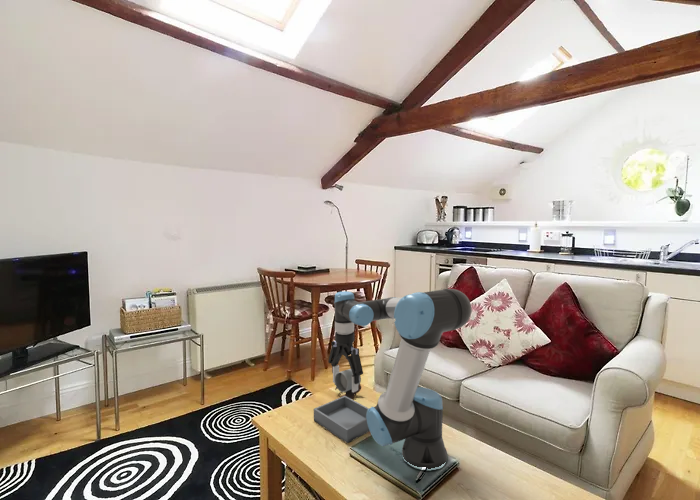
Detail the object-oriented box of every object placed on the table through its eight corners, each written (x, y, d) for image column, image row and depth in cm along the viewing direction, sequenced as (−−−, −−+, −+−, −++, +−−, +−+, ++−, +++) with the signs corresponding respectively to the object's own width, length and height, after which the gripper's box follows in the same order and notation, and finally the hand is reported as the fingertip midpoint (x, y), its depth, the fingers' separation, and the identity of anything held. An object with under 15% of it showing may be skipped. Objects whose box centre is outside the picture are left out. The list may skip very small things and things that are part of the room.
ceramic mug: (362, 388, 150) (362, 369, 149) (347, 395, 144) (347, 375, 143) (343, 380, 157) (343, 362, 157) (329, 387, 152) (328, 368, 151)
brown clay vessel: (336, 402, 170) (332, 383, 173) (340, 402, 179) (336, 384, 182) (362, 395, 169) (358, 376, 173) (364, 396, 178) (360, 377, 181)
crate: (379, 426, 150) (379, 414, 149) (347, 443, 139) (347, 430, 138) (345, 406, 165) (344, 395, 165) (313, 420, 154) (313, 408, 154)
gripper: (372, 336, 142) (372, 393, 144) (333, 323, 159) (334, 374, 162) (357, 341, 137) (358, 399, 139) (319, 327, 155) (319, 379, 157)
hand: (345, 386), depth 150 cm, fingers closed on ceramic mug, 11 cm apart
